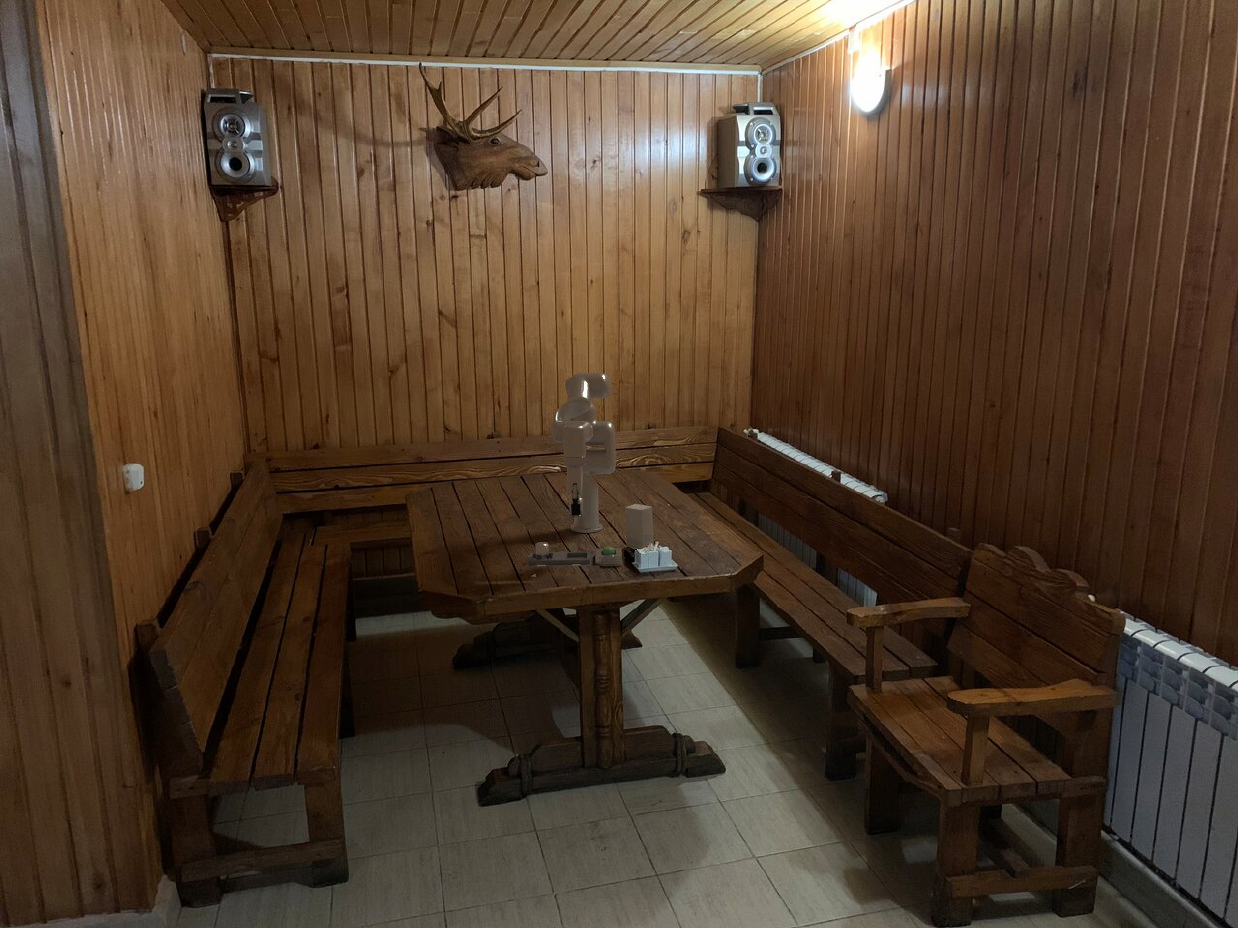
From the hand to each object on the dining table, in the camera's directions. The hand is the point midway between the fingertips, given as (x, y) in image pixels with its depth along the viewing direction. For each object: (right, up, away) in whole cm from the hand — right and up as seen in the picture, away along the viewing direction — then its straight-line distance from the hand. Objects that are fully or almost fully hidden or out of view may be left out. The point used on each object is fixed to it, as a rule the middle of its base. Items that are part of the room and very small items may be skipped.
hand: (576, 512), depth 308 cm
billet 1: (-12, -17, +3) cm, 21 cm away
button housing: (+11, -17, +3) cm, 21 cm away
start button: (+11, -15, +3) cm, 19 cm away
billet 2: (0, -1, 0) cm, 1 cm away
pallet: (-6, -18, +3) cm, 19 cm away
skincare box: (+22, -14, +19) cm, 32 cm away
